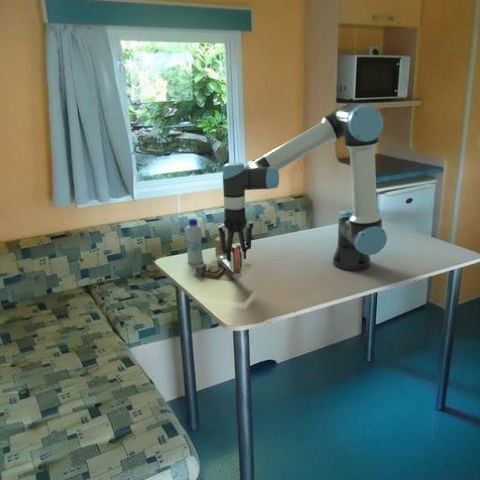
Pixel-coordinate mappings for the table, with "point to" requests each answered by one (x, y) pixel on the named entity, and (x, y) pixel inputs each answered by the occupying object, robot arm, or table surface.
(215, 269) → the nut
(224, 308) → the table surface
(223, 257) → the lever
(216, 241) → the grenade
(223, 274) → the square wooden tray
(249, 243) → the robot arm
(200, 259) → the bottle
